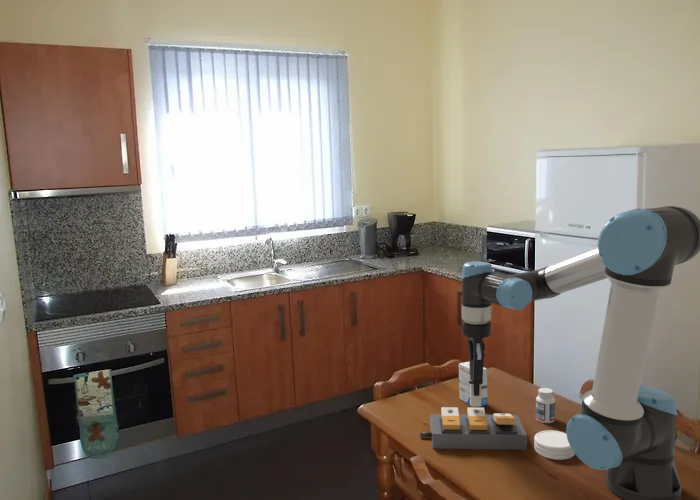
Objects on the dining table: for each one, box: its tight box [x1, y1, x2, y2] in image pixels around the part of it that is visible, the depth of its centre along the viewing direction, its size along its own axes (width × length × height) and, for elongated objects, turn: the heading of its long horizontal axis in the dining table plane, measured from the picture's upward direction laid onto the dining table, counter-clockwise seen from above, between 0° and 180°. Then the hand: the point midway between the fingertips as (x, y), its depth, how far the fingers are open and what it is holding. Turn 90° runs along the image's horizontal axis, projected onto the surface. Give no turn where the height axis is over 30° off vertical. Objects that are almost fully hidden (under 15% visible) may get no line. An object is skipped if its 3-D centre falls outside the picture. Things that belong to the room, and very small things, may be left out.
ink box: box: [458, 361, 488, 408], centre depth 179 cm, size 9×5×12 cm, turn 25°
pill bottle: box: [535, 387, 556, 424], centre depth 166 cm, size 5×5×9 cm
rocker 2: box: [466, 407, 488, 430], centre depth 154 cm, size 7×4×2 cm, turn 175°
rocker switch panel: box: [419, 413, 528, 451], centre depth 156 cm, size 12×27×5 cm, turn 85°
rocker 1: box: [440, 406, 460, 430], centre depth 155 cm, size 7×4×2 cm, turn 175°
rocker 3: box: [492, 413, 515, 425], centre depth 154 cm, size 7×4×2 cm, turn 175°
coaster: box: [533, 429, 576, 461], centre depth 149 cm, size 10×10×4 cm
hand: (475, 405), depth 157 cm, fingers closed
